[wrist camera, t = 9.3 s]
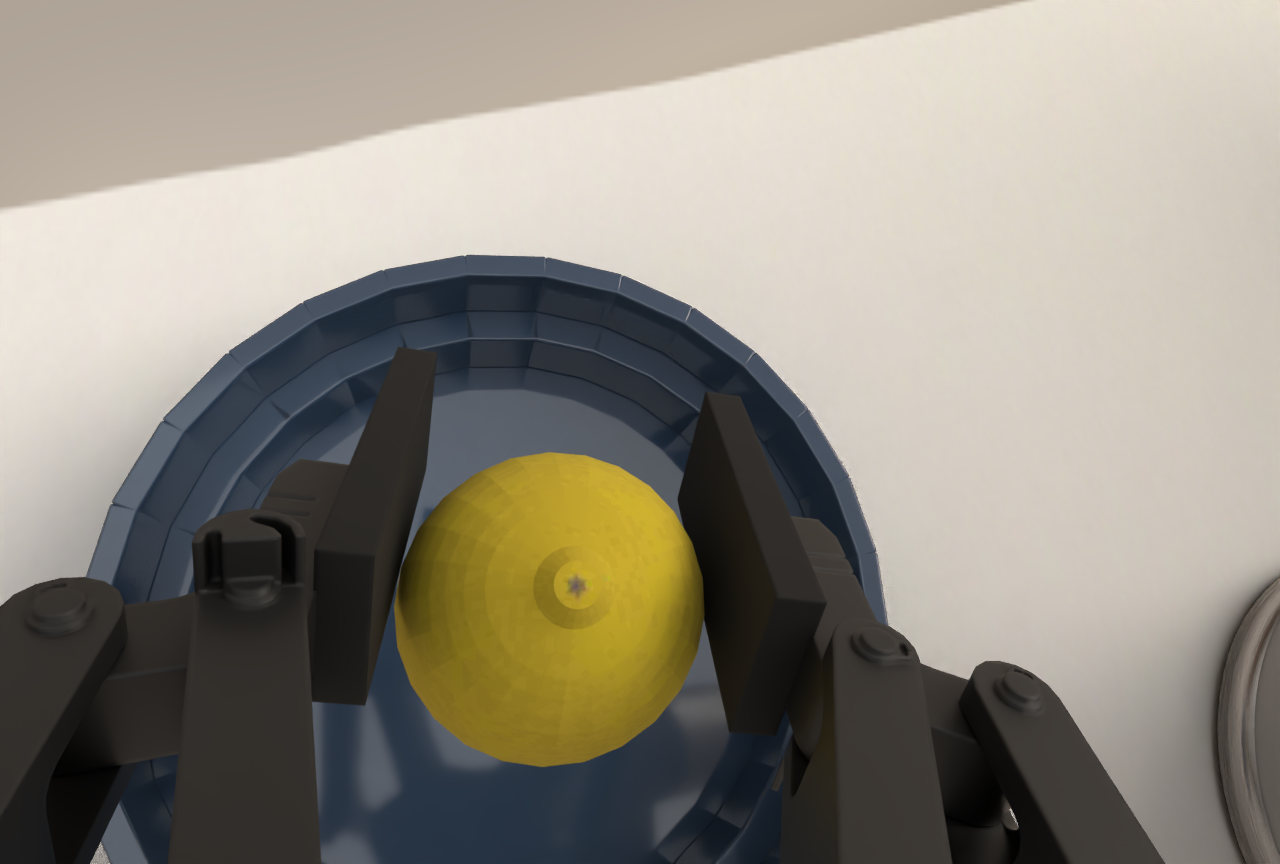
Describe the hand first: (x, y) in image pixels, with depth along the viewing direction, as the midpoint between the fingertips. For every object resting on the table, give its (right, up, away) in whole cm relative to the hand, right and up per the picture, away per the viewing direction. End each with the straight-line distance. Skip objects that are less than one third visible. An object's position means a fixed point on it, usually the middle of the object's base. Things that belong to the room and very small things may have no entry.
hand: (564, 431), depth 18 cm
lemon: (-1, -4, +2) cm, 5 cm away
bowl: (-2, -6, +6) cm, 9 cm away
